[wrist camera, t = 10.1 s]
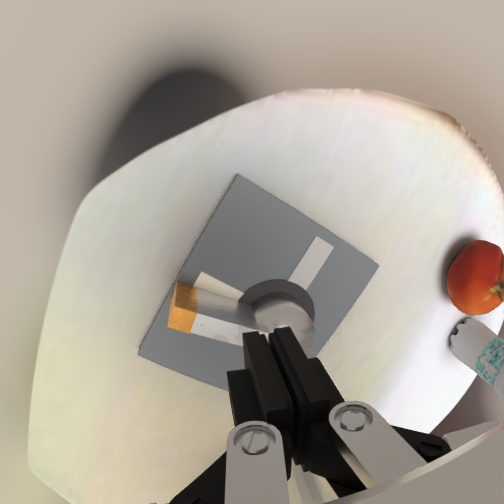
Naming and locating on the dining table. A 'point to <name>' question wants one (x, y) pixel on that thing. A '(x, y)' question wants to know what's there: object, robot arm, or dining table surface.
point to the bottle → (480, 352)
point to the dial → (237, 316)
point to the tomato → (477, 278)
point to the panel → (258, 278)
